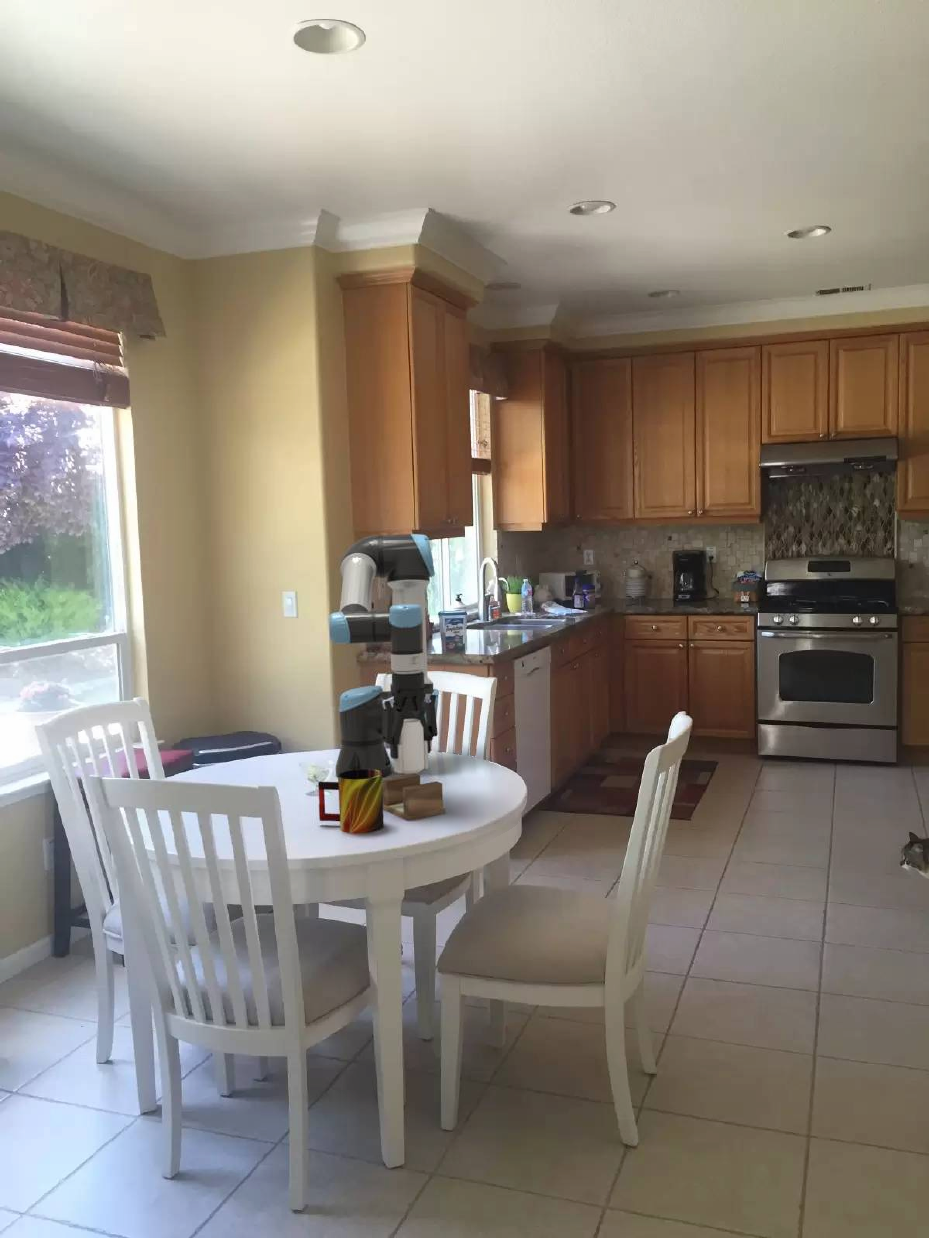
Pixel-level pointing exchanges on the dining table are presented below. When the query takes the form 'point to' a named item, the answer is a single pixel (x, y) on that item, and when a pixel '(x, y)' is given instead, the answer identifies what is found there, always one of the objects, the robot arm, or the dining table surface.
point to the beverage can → (412, 746)
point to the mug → (356, 801)
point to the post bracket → (412, 797)
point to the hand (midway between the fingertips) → (411, 769)
